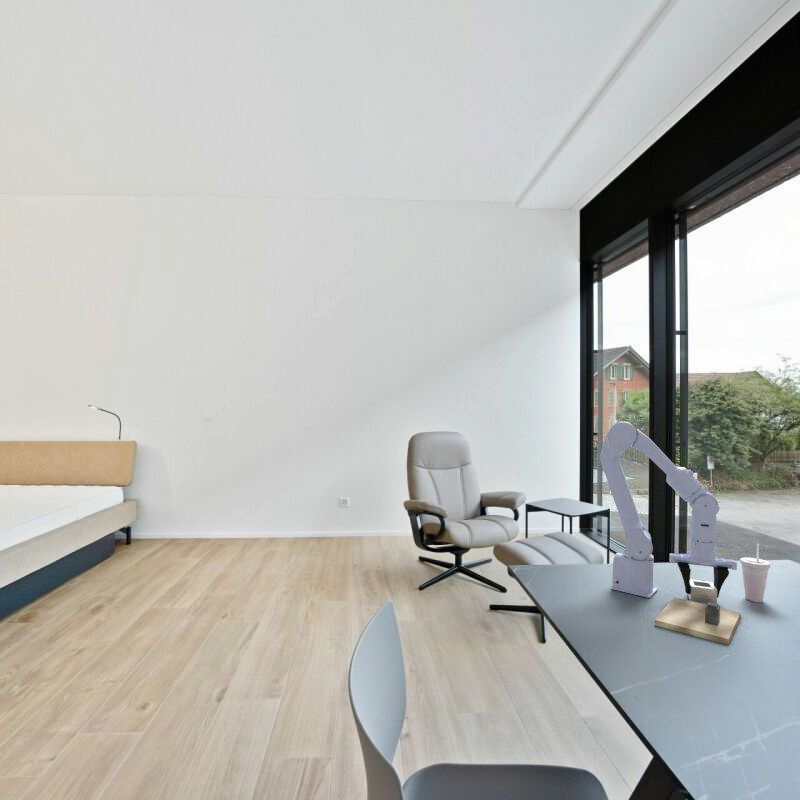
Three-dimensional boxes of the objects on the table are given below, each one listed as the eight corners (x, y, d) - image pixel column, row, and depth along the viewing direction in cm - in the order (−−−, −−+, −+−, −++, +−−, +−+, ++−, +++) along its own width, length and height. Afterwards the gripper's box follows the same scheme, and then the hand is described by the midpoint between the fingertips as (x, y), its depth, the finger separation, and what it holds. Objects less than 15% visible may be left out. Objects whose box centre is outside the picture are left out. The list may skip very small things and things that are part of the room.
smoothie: (774, 605, 131) (775, 548, 131) (745, 602, 132) (746, 546, 132) (762, 595, 137) (763, 541, 137) (734, 593, 139) (736, 539, 138)
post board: (654, 625, 118) (655, 601, 118) (673, 601, 132) (674, 580, 132) (728, 644, 109) (729, 619, 109) (740, 617, 123) (741, 595, 123)
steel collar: (690, 602, 132) (691, 586, 132) (686, 594, 137) (687, 579, 137) (716, 606, 130) (717, 589, 130) (711, 597, 135) (712, 582, 135)
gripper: (673, 540, 132) (671, 595, 132) (740, 547, 127) (739, 604, 127) (668, 534, 139) (667, 586, 139) (733, 540, 134) (731, 594, 134)
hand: (701, 594), depth 133 cm, fingers closed on steel collar, 6 cm apart
